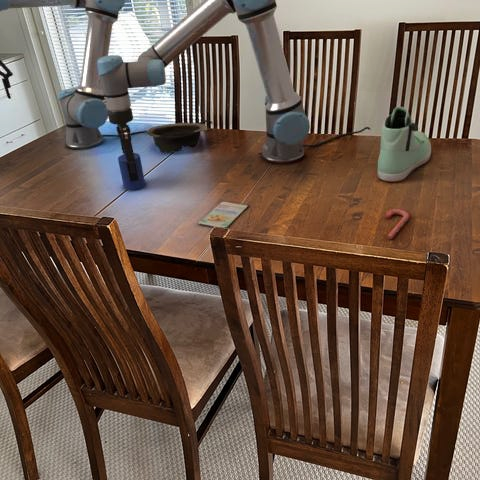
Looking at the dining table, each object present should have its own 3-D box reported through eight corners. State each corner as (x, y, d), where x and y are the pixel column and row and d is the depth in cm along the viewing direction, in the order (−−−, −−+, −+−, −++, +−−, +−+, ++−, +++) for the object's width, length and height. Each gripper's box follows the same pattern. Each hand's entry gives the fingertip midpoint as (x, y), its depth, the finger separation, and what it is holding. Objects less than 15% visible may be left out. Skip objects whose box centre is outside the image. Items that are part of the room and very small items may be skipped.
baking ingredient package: (197, 222, 136) (222, 200, 148) (198, 223, 137) (222, 201, 148) (225, 227, 133) (248, 204, 144) (225, 229, 133) (248, 206, 145)
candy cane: (369, 235, 126) (370, 230, 125) (390, 211, 136) (390, 206, 135) (392, 241, 122) (392, 236, 122) (411, 215, 133) (412, 211, 132)
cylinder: (133, 192, 159) (127, 162, 153) (119, 187, 163) (113, 158, 157) (149, 184, 164) (144, 155, 158) (135, 179, 168) (129, 151, 162)
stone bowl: (160, 161, 179) (155, 137, 175) (141, 147, 200) (136, 125, 195) (220, 146, 188) (216, 122, 184) (195, 134, 208) (192, 112, 204)
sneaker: (435, 147, 173) (444, 90, 162) (416, 186, 148) (424, 121, 137) (397, 143, 179) (403, 88, 168) (371, 180, 154) (377, 117, 143)
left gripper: (-77, 43, 146) (-51, 112, 157) (8, 31, 157) (28, 96, 168) (-79, 40, 151) (-53, 107, 163) (4, 29, 162) (23, 92, 173)
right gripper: (103, 102, 157) (117, 167, 169) (110, 119, 140) (125, 190, 152) (126, 99, 159) (139, 163, 171) (135, 115, 142) (148, 185, 154)
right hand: (132, 176), depth 161 cm, fingers closed on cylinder, 7 cm apart
